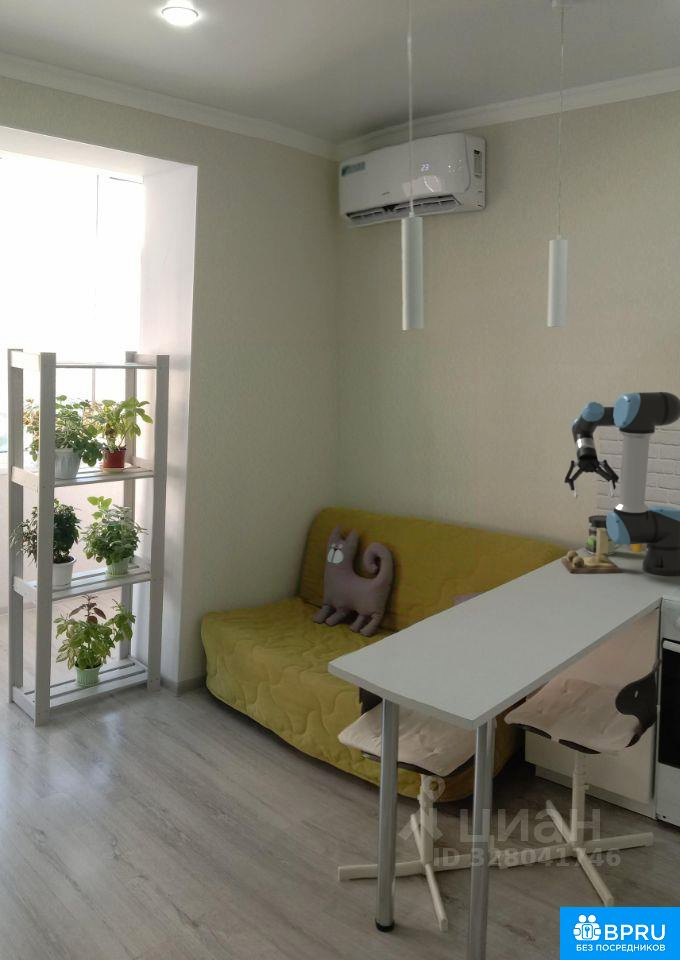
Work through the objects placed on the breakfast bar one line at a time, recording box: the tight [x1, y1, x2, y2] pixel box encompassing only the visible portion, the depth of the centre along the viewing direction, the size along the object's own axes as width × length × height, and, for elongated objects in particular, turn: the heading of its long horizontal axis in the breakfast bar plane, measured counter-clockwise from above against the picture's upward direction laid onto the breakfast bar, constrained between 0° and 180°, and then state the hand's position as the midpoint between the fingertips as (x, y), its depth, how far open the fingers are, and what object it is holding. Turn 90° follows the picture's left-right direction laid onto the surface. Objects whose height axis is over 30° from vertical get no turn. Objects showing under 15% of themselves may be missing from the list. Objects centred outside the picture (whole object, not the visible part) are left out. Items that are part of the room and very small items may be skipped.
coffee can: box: [587, 514, 616, 556], centre depth 323 cm, size 10×10×14 cm
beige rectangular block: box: [594, 528, 610, 563], centre depth 300 cm, size 4×5×12 cm
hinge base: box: [561, 549, 621, 574], centre depth 301 cm, size 18×16×5 cm
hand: (594, 496), depth 309 cm, fingers open, 13 cm apart
